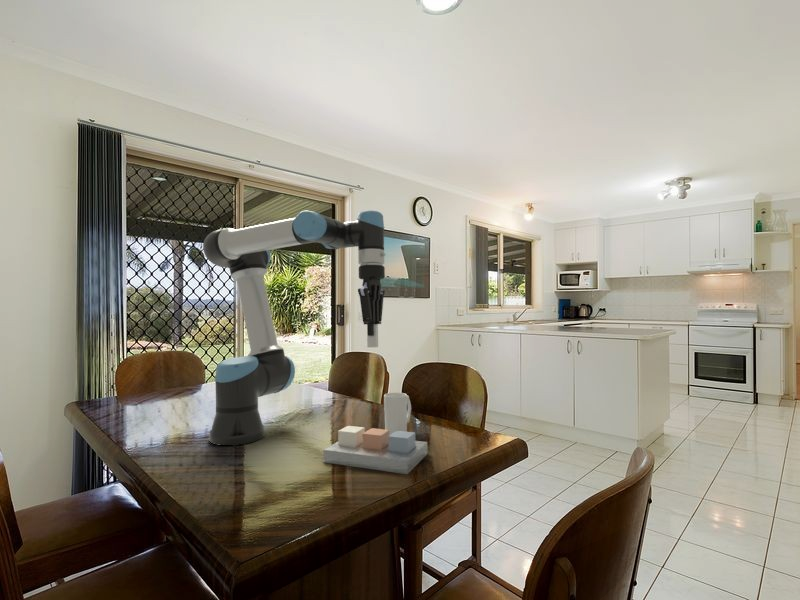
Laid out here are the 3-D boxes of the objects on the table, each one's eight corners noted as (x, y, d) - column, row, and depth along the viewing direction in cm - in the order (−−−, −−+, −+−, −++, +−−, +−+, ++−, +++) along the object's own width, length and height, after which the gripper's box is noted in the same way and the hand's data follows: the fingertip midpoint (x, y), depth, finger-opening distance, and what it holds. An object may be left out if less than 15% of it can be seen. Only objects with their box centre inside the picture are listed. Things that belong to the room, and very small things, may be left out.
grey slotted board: (323, 462, 99) (323, 449, 99) (351, 444, 112) (351, 433, 112) (407, 474, 91) (407, 460, 91) (427, 453, 104) (427, 441, 104)
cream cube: (338, 450, 103) (338, 430, 103) (348, 444, 107) (347, 425, 108) (355, 453, 101) (355, 432, 101) (365, 446, 106) (364, 427, 106)
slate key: (388, 457, 97) (388, 436, 98) (397, 450, 102) (396, 430, 102) (408, 459, 96) (407, 438, 96) (415, 453, 100) (415, 432, 100)
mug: (396, 441, 115) (395, 398, 115) (379, 436, 119) (379, 395, 120) (419, 432, 122) (418, 392, 122) (403, 428, 127) (402, 390, 127)
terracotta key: (362, 454, 100) (362, 433, 100) (371, 447, 105) (371, 428, 105) (381, 456, 98) (380, 435, 98) (389, 449, 103) (389, 429, 103)
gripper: (373, 262, 110) (374, 349, 110) (392, 266, 122) (393, 345, 122) (349, 263, 113) (350, 348, 112) (370, 268, 125) (371, 345, 124)
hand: (372, 347), depth 117 cm, fingers closed
